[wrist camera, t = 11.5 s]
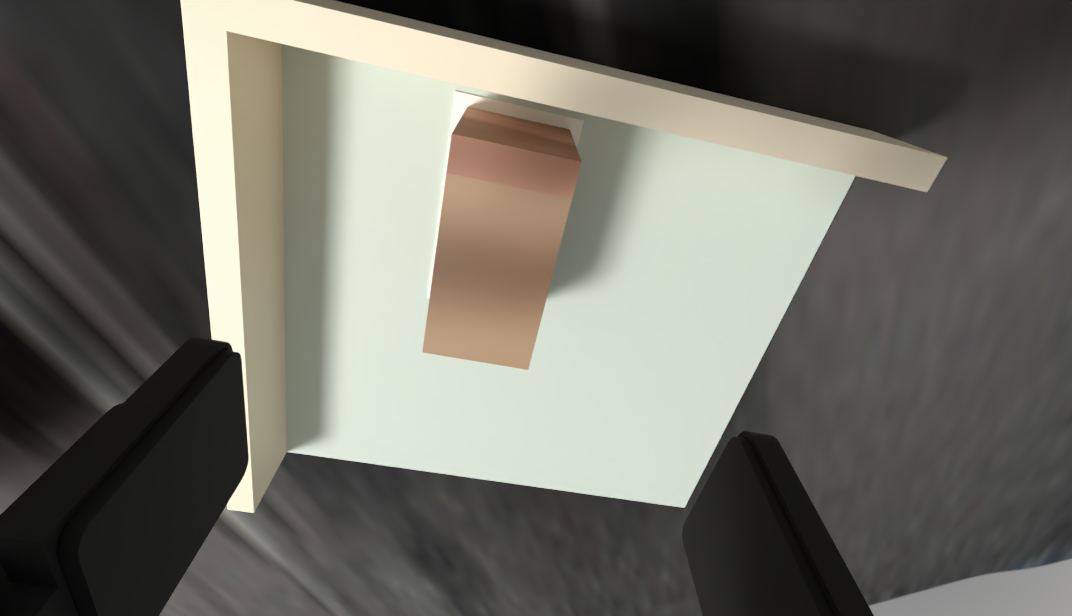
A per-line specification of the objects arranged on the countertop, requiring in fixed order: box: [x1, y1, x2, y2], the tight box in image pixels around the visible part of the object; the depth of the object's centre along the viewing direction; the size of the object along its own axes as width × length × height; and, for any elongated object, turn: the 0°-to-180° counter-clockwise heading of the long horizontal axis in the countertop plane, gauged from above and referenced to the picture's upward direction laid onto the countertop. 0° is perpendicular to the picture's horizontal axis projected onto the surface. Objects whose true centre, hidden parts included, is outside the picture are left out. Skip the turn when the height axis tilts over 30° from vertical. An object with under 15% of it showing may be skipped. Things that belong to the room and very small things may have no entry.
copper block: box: [422, 107, 582, 370], centre depth 20 cm, size 8×4×5 cm, turn 168°
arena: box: [181, 0, 948, 513], centre depth 23 cm, size 24×22×4 cm
